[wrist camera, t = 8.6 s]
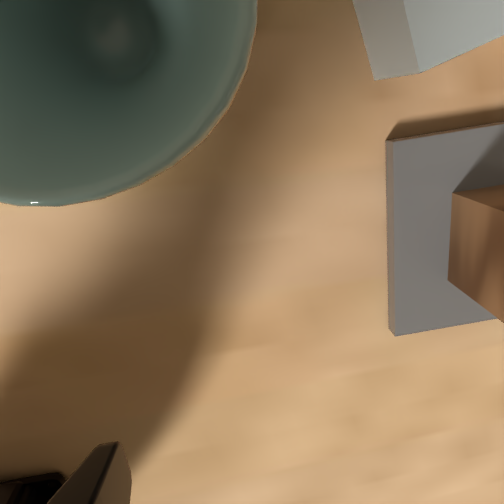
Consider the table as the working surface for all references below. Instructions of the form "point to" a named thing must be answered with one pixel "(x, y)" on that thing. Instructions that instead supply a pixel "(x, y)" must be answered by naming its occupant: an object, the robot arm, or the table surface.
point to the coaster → (433, 221)
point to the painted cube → (424, 32)
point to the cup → (112, 90)
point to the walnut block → (478, 246)
